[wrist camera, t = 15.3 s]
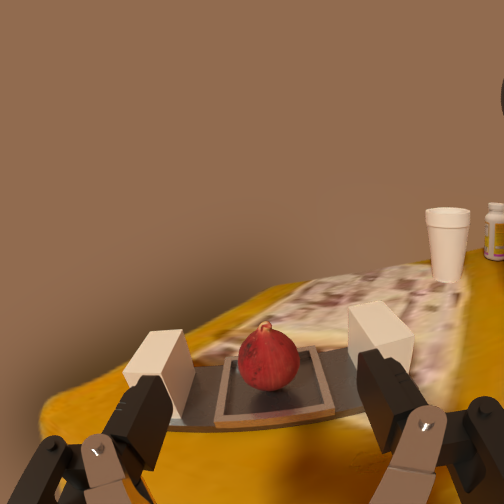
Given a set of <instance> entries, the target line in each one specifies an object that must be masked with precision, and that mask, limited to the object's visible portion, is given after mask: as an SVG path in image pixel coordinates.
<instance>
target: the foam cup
mask: <svg viewBox="0 0 504 504" xmlns="http://www.w3.org/2000/svg"><path fill="white" fill-rule="evenodd" d="M425 214H426V224H427V228H428V235H429V243H430V252H431V263H432V274H433V278H434V279H435V280H437V281H439V282H443V283H453V282H457V281H459V280H460V279H461V274H462V269H463V264H464V258H465V252H466V245H467V238H468V229H469V225H470V211H469V210H467V209H462V208H432V209H427V210H426V211H425Z"/></svg>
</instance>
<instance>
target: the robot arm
mask: <svg viewBox="0 0 504 504" xmlns="http://www.w3.org/2000/svg"><path fill="white" fill-rule="evenodd" d="M501 106H502V111H503V115H504V80H503V84H502V89H501ZM356 384H357V391H358V394H359V397H360V399H361V402H362V404H363V407H364V409H365V412H366V414H367V417H368V419H369V422H370V424H371V427H372V429H373V432H374V434H375V437H376V439H377V442H378V444H379V447H380V450H381V452H382V454H384V453H387V452H390V451H391V452H392V455H393V457H392V460H391V462H390V464H389V466H388V468H387V470H386V472H385V474H384V476H383V478H382V480H381V482H380V484H379V486H378V488H377V490H376V491H375V493H374V495H373V497H372V499H371V500H370V502H369V504H426V502H427V500H428V497H429V495H430V492H431V489H432V486H433V484H434V481H435V477H436V473H434V470H435V467H438V466H444V465H446V466H447V468H448V470H449V473H450V475H451V478H452V480H453V483H454V485H455V488H456V490H457V493H458V496H459V498H460V501H461V504H504V409H503V408H502V406H501V405H500V404H499V402H498V401H497V400H495V399H494V398H492V397H488V396H482V397H478V398H476V399H474V400H473V401H472V402H471V403H470V405H469V407H468V409H467V410H462V411H456V412H450V413H445V412H444V411H443V410H442V409H440V408H438V407H436V406H432V405H428V403H427V402H426V400H425V399H424V397H423V396H422V394H421V393H420V391H419V390H418V388H417V387H416V385H415V384H414V382H413V381H412V380H411V378H410V376H409V375H408V373H406V370H405V369H404V367H403V366H402V365H401V363H400V362H398V361H396V360H395V359H393V358H392V357H389V358H386V359H384V358H383V356H382V354H381V353H380V351H379V350H378V349H377V348H375V349H371V350H367V351H363V352H359V353H358V362H357V379H356ZM119 402H120V403H118V405H117V407H116V410H114V412H113V414H112V416H111V417H110V419H109V421H108V423H107V425H106V426H105V428H104V430H103V432H102V433H101V434H94V435H91V436H90V437H88V438H87V439H86V440H85V441H84V442H83V443H82V444H73V445H68V444H67V443H66V442H65V441H64V440H63V438H62V437H60V436H57V435H53V436H49V437H47V438H45V439H44V440H43V441H42V442H41V444H40V445H39V447H38V449H37V450H36V452H35V453H34V455H33V457H32V459H31V460H30V462H29V464H28V466H27V468H26V469H25V471H24V473H23V474H22V476H21V478H20V480H19V482H18V484H17V485H16V487H15V489H14V491H13V493H12V495H11V497H10V499H9V501H8V503H7V504H157V503H156V501H155V499H154V498H153V496H152V494H151V492H150V490H149V488H148V486H147V484H146V482H145V480H144V478H143V477H142V476H141V474H142V471H143V470H147V471H154V468H155V465H156V462H157V459H158V456H159V453H160V450H161V447H162V444H163V441H164V438H165V435H166V432H167V429H168V426H169V423H170V420H171V417H172V414H173V403H172V400H171V398H170V396H169V394H168V391H167V389H166V387H165V385H164V382H163V380H162V378H161V377H160V376H159V375H142V376H141V377H140V378H139V380H138V382H137V384H136V386H132V387H131V388H130V389H129V390H127V391H126V392H125V393H124V394H123V396H122V398H121V400H120V401H119ZM62 477H63V478H64V479H65V480H66V481H67V482H66V485H65V487H64V489H63V491H62V494H61V496H60V499H59V501H58V502H56V500H55V496H54V494H55V491H56V489H57V486H58V484H59V482H60V480H61V478H62Z"/></svg>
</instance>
